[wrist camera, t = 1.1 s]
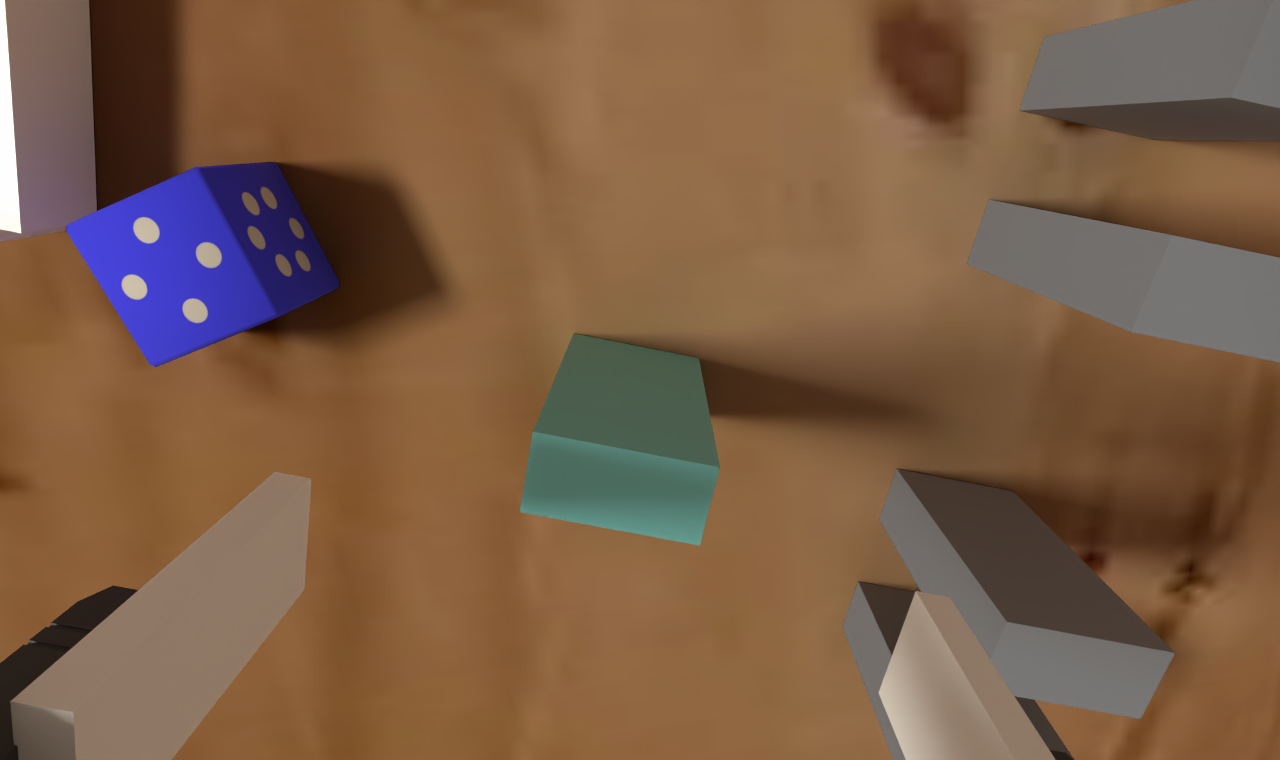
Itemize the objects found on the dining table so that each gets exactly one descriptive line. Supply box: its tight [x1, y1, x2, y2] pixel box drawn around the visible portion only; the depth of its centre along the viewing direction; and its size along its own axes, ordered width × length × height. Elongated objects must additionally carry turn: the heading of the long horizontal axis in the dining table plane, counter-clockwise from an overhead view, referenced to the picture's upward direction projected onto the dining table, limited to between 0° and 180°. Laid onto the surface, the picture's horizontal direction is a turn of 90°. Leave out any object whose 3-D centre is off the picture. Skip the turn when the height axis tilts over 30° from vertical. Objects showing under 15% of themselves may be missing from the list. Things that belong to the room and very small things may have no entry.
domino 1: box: [520, 334, 720, 545], centre depth 24 cm, size 2×5×10 cm, turn 79°
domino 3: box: [967, 200, 1280, 362], centre depth 23 cm, size 2×5×10 cm, turn 79°
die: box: [66, 162, 340, 367], centre depth 26 cm, size 5×5×5 cm
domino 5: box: [843, 582, 1074, 760], centre depth 28 cm, size 2×5×10 cm, turn 79°
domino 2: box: [1019, 0, 1280, 142], centre depth 21 cm, size 2×5×10 cm, turn 79°
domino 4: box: [879, 469, 1175, 719], centre depth 26 cm, size 2×5×10 cm, turn 79°
